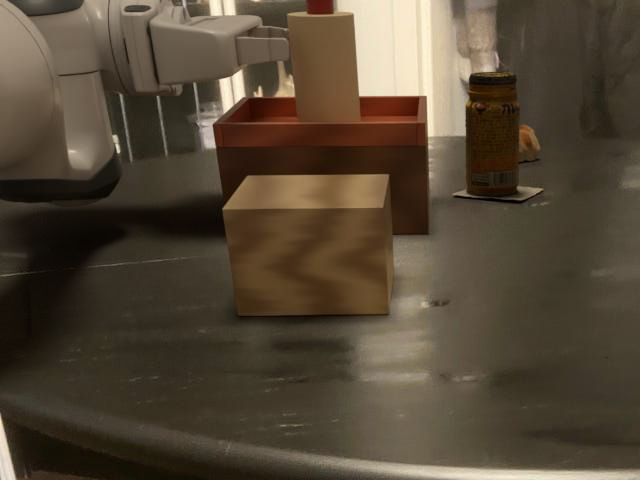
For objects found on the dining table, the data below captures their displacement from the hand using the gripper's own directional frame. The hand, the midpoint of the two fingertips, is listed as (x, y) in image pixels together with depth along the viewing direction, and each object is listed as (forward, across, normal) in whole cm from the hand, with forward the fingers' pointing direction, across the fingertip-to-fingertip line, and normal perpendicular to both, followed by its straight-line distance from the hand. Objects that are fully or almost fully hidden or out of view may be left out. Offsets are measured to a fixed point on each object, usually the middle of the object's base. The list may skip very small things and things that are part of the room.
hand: (296, 44), depth 96 cm
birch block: (+4, +28, -16) cm, 32 cm away
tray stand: (+2, 0, -16) cm, 16 cm away
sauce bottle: (+3, 0, -8) cm, 8 cm away
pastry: (+22, -29, -16) cm, 40 cm away
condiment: (+20, -9, -16) cm, 27 cm away
